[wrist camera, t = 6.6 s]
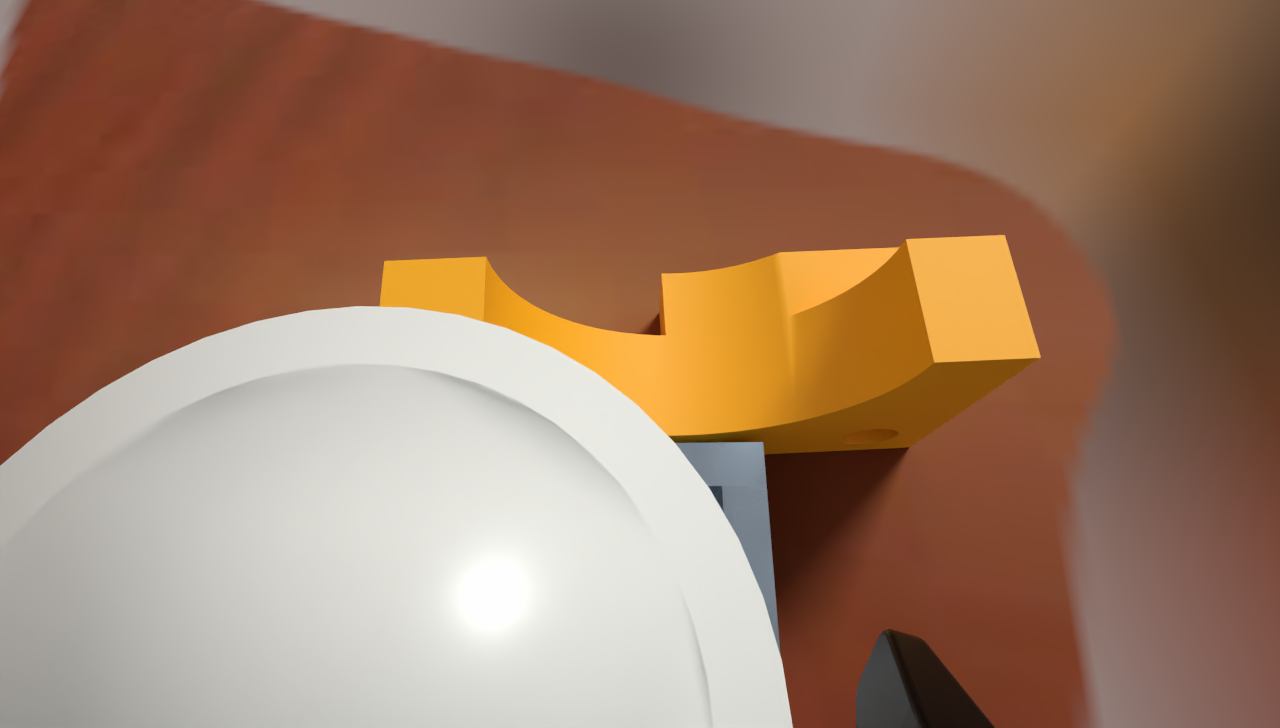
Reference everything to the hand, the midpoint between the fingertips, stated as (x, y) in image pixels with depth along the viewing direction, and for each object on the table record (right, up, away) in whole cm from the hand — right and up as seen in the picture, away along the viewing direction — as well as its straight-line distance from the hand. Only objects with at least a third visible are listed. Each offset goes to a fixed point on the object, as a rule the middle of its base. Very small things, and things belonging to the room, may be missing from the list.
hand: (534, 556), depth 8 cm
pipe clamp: (+2, +2, +11) cm, 11 cm away
